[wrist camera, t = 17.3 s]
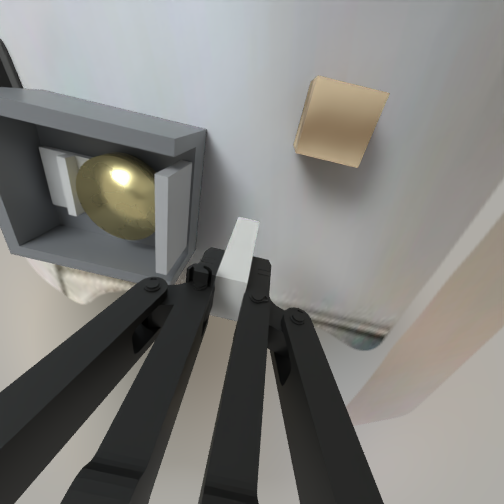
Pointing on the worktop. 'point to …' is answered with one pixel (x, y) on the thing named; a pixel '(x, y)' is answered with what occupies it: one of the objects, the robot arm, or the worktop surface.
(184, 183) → the grey i-beam
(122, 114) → the box
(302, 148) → the pedestal
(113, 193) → the disc
